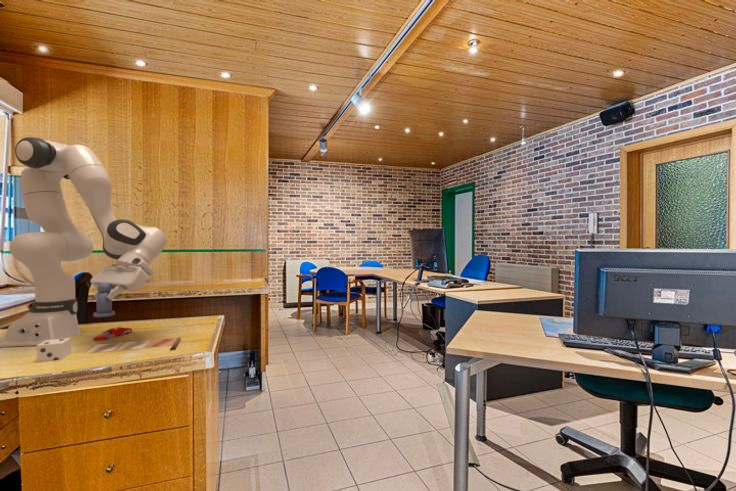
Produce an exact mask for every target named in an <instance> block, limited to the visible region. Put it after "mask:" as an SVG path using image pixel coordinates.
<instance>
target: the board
mask: <svg viewBox="0 0 736 491" xmlns="http://www.w3.org/2000/svg"><path fill="white" fill-rule="evenodd" d="M180 342H181V336H179V337H175V338H174V337H170V338H159V339H152V340H150V339H149V340H148V339H147V340H138V341H136V340H135V341H126V342H115V343H114V342H113V343H103V344H102V343H101V344H96V345H94V346H93V347H92V348H91V349H90V350H88V351H87V352H86V354H91V353H92V354H93V353H94V354H95V353H105V352H113V351H114V352H115V350H116V351H125V350H137V349H145V348H146V349H148V348H150V349H151V348H158V347H159V348H160V347H170V349H169V351H176V349H177V348H178V346H179V344H180Z"/></svg>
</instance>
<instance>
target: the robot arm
mask: <svg viewBox="0 0 736 491" xmlns="http://www.w3.org/2000/svg"><path fill="white" fill-rule="evenodd" d="M14 154H15V157H16V160H17V161H18V162H19V163H20V164H21V165H23V166H26V167H25V168H23V170H22V171H21V173H20V188H21V190H20V191H21V196H22V200H23V204H24V208H25V213H26V216H27V218H28V219H29V221H31V222H32V223H34V224H37V225H38V226H39V227H40V228H41V229H42V230H43V231H31V232H25V233H20V234H17V235H16V236H14V237H13V238H12V240H11V242H10V244H9V250H10V254H11V255H12V257H13V258H14V259H15V260H16V261H18V262H19V263H22V264H23V265H24V267H26V268H27V269H28V271H29V272H30V274H31V276H32V278H33V283H34V284H33V285H34V293H35V294H34V296H35V298H34V299H35V300H34V301H32V302H31V303H28V304H26V309H28V311H29V312H27V313H26V314H24V315H22V317H20V318H18V319H17V320H16V321H14V322H13V323H11V324H10V325H9V326H8V327H7V330H6V333H5V338H3V339H0V348H2V347H3V348H5V347H7V348H9V347H27V346H28V347H29V346H37V345H38V344H40V343H42V342H44V341H46V340H53V339H66V338H71V337H80V336H82V332H81V329H80V327H79V322H78V317H77V316H78V315H77V313H78V299H77V297H76V280H75V277H74V276H73V275H72V274H70V273H69V272H66V271H65V270H64V268H63V267H62V264H61V262H74V261H78V260H84V259H86V258H88V257H90V256H91V255H92V252H93V250H94V243H93V240H92V239H91V237H90V236H88V235H87V234H85V233H83V232H82V230H80V229H79V228H78V226H76V224H75V223H74V222H73V220H72V219H71V217H70V215H69V212H68V209H67V205H66V203H65V199H64V198H65V197H64V195H63V190H62V187H61V180H62V179H65V180H70V182H71V183H72V185H73V187H74V188H75V190H76V191H77V193H78V194H79V196H80V197H81V199H82V200H83V202H84V204H85V206H86V207H87V209H88V211H89V213H90V214H91V216H92V218H93V221H94V222H95V224H96V226H97V228H98V230H99V232H100V234H101V236H102V250H103V253H104V254H105V256H107V257H109V258H110V259H114V260H116V261H115V264H110V265H107V266H104V267H103V268H101V270H99V271H98V272H97V273H96V274H95V275H94V276H93V277H91V279H90V284H92V285H93V286H94V287H95V288H97V287H98V286H99V285H100V284H102V283H108V284H109V285H110V286H111V290H112V291H111V290H110V292H108V293H107V295H106V296H105V298H107V299H108V300H112V301H113V300H114V298H115V297H116V296H118V295H120V294H121V293H123V292H124V291H132V292H136V291H139V290H141V289H142V288H143V287H144V286H145V284H146V283H147V282H148V281H149V279H150V277H152V276H153V275H154V274H155V272H156V271H155V270H154V269H153V268H152V267H151V266H150V265H151V263H152V262H153V261H154V260H155V259H157V258H158V256H159V255H160V254H161V253H162V251H163V250H164V248H165V247H166V245H167V241H168V240H167V236H166V234H165V233H164V232H163V231H162V230H161V229H159V228H158V227H156V226H144V225H140V224H137V223H134V221H131V220H129V219H117V218H116V216H115V214H114V211H113V208H112V191H113V190H112V188H113V185H112V182H111V178H110V176H109V173H108V171H107V170H106V168H105V166H104V165H103V163H102V162H101V160H100V159H99V157H98V156H97V155H96V154H95V152H94V151H93V150H92V149H90V147H88V146H86V145H83V144H71V145H68V144H65V143H61V142H58V141H52V140H48V139H47V140H46V139H42V138H40V137H33V136H32V137H31V136H30V137H23V138H21V139H20V140H19V141H17V143H16V144H15V148H14ZM96 293H98V290H97V289H96V292H95V293H94V294H93V297H94V298H95V299H96Z"/></svg>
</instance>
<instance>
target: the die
mask: <svg viewBox="0 0 736 491" xmlns="http://www.w3.org/2000/svg"><path fill="white" fill-rule="evenodd" d="M71 354H72V338H71V337H67V338H62V339H53V340H46V341H44V342H42V343H40V344H38V345H36V363H38V362H51V361H59V360H60V361H61V360H64V359H65V358H67V357H68V356H69V355H71Z"/></svg>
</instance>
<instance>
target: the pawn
mask: <svg viewBox="0 0 736 491" xmlns="http://www.w3.org/2000/svg"><path fill="white" fill-rule="evenodd" d="M97 290H98V293H96V292H95V293H96V298H95V299H96V311H95V312H93V318H108V317H114V316H115V315H116V311H115V310H113V299H112V300H108V299H107V298H105V296H106V295H107V293H108V292H111V290H112V289H111V286H110V285H109V284H108V283H102V284H100V285H99V286H98V287H96V291H97Z"/></svg>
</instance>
